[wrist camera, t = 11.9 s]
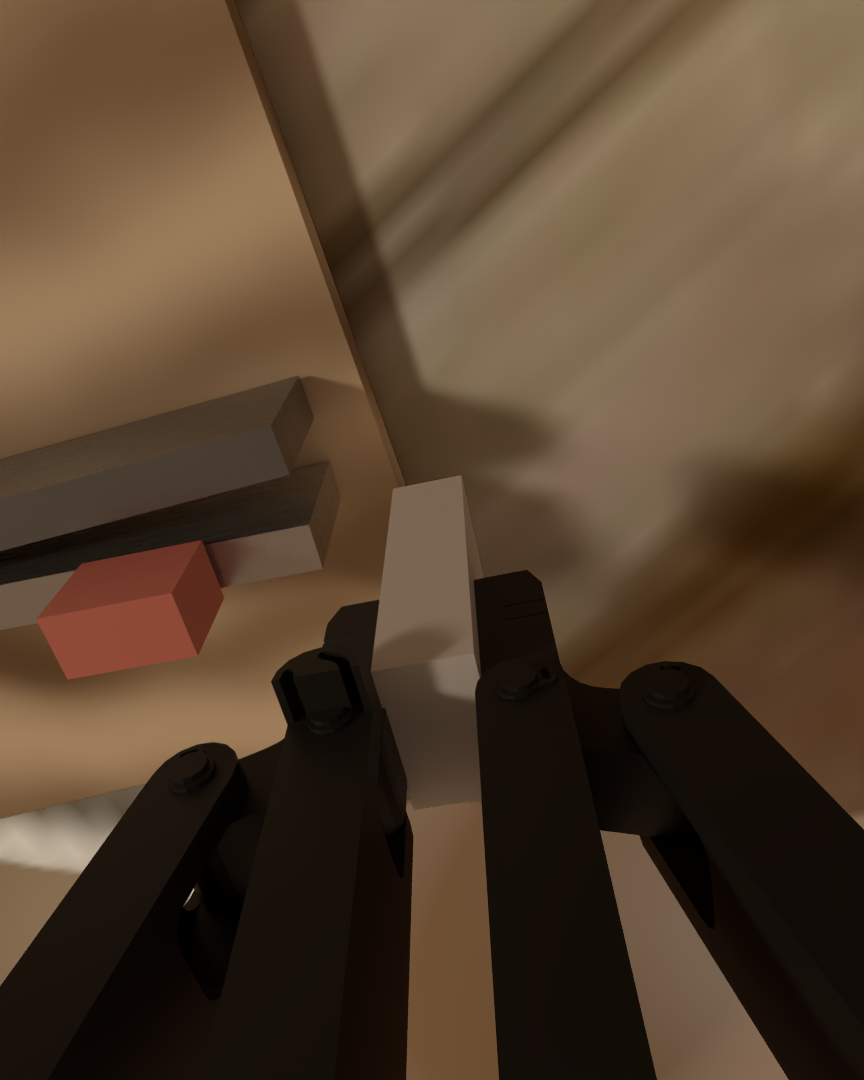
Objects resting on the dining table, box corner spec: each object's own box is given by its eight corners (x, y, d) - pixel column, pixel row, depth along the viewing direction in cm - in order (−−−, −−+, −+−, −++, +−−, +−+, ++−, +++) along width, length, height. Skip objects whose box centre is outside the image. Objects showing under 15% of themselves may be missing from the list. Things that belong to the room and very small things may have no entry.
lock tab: (107, 620, 20) (67, 679, 18) (81, 563, 19) (35, 619, 17) (224, 597, 19) (198, 656, 17) (201, 540, 19) (171, 593, 17)
